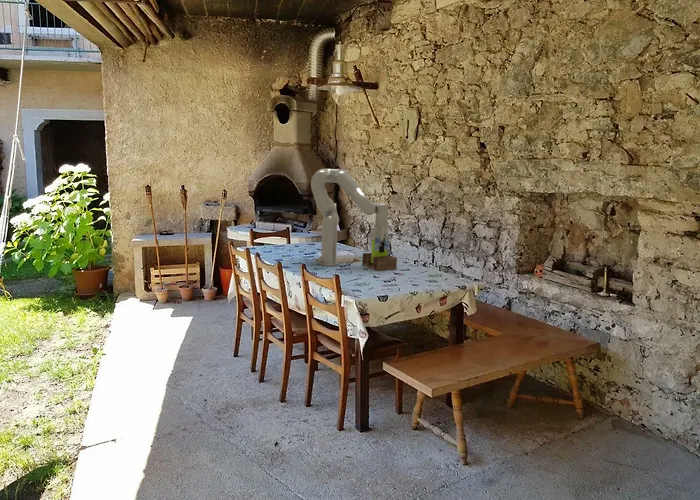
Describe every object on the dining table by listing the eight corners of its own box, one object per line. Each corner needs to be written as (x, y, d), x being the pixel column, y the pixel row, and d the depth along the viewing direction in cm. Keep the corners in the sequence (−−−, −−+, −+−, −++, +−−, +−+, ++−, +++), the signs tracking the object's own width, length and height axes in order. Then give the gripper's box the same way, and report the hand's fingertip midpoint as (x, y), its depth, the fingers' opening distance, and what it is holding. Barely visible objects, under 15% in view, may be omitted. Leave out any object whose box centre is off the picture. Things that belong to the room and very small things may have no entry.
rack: (396, 269, 349) (397, 257, 348) (377, 271, 342) (378, 259, 341) (380, 263, 364) (381, 252, 363) (362, 264, 357) (362, 253, 356)
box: (384, 261, 357) (386, 234, 353) (387, 262, 353) (389, 236, 350) (370, 262, 352) (371, 235, 348) (373, 264, 348) (375, 236, 345)
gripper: (369, 221, 353) (367, 249, 356) (383, 225, 339) (382, 254, 342) (378, 220, 357) (377, 248, 360) (393, 224, 343) (392, 253, 346)
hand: (379, 251), depth 351 cm, fingers closed on box, 4 cm apart
